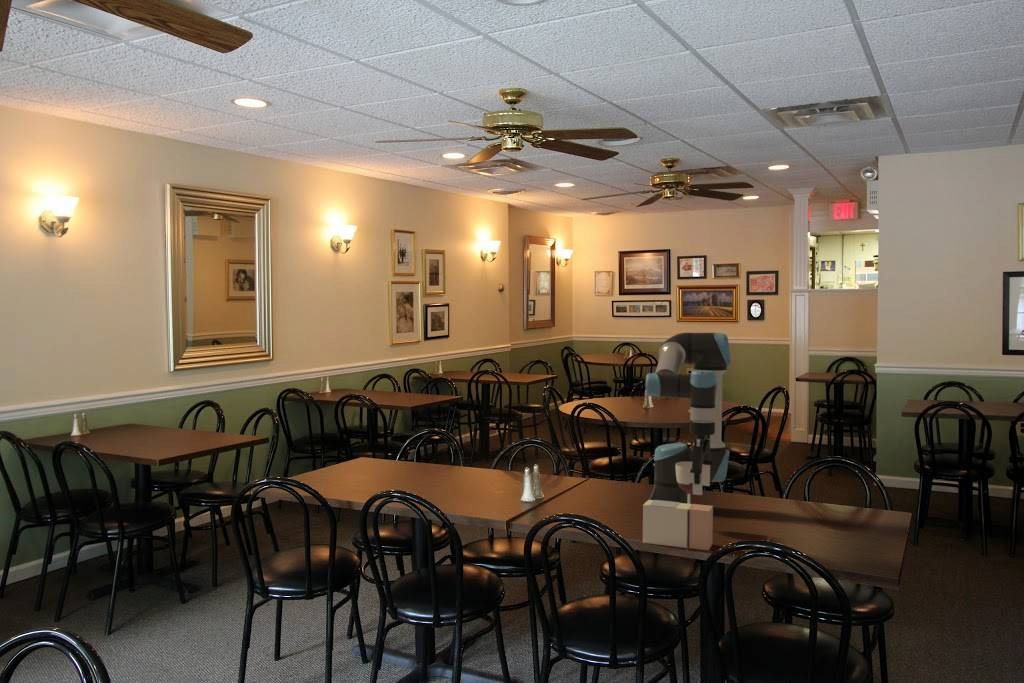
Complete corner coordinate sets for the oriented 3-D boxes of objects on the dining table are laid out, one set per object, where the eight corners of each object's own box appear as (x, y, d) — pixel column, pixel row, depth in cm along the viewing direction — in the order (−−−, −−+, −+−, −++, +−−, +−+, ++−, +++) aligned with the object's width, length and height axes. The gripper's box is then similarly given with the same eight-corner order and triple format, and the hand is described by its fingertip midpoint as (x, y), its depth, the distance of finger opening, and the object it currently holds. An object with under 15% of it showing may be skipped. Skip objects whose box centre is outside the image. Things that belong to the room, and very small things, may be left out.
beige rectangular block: (647, 536, 257) (648, 499, 257) (691, 541, 252) (692, 503, 251) (642, 542, 251) (643, 504, 250) (687, 548, 245) (688, 509, 245)
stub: (692, 541, 252) (693, 503, 251) (712, 544, 249) (713, 505, 249) (688, 548, 245) (689, 509, 245) (708, 550, 243) (709, 511, 242)
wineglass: (669, 529, 267) (670, 464, 266) (685, 524, 274) (686, 460, 273) (691, 535, 261) (692, 468, 260) (707, 529, 268) (708, 464, 267)
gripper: (697, 415, 258) (696, 480, 259) (682, 425, 235) (681, 497, 236) (721, 416, 255) (720, 483, 256) (708, 427, 232) (706, 499, 233)
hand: (701, 490), depth 246 cm, fingers open, 13 cm apart
